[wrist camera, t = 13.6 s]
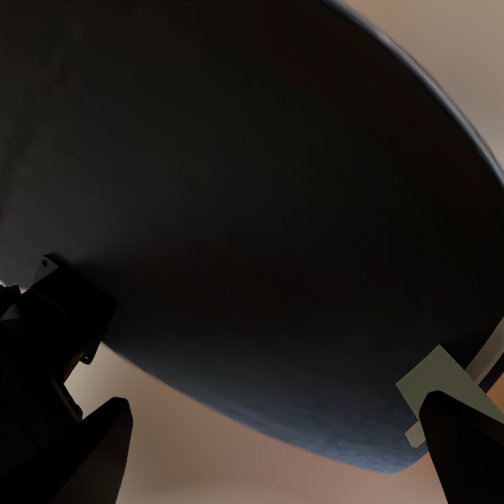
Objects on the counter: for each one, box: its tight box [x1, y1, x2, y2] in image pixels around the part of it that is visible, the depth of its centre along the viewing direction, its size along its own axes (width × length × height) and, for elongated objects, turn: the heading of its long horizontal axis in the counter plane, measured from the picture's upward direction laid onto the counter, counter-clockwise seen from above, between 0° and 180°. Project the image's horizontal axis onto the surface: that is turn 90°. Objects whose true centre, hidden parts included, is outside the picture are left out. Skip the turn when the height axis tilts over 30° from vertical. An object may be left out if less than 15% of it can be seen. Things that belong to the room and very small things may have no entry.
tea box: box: [396, 344, 504, 426], centre depth 17 cm, size 5×5×12 cm
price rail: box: [405, 317, 504, 448], centre depth 22 cm, size 17×2×2 cm, turn 147°
